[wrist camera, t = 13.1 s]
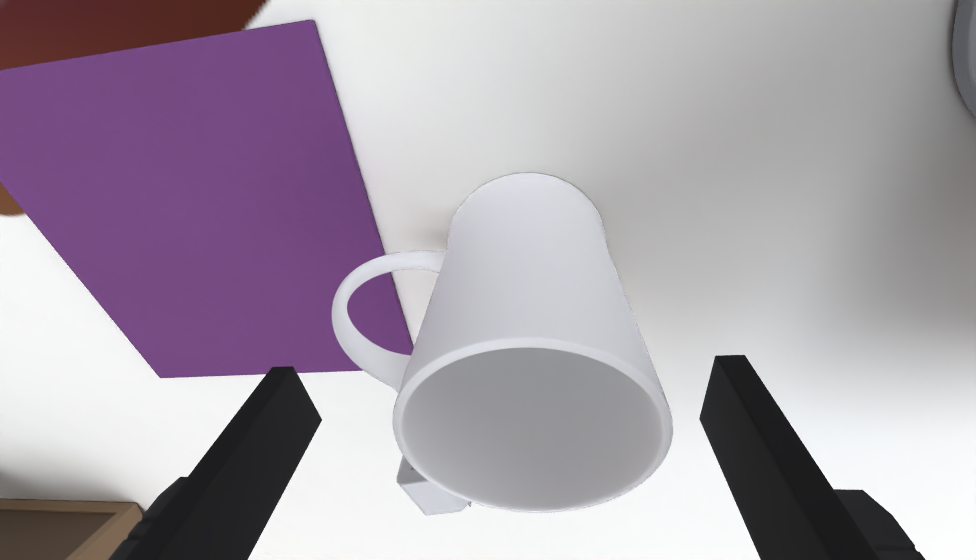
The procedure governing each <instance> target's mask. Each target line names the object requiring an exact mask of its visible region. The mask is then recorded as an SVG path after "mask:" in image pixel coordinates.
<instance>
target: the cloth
mask: <svg viewBox="0 0 976 560" xmlns="http://www.w3.org/2000/svg"><path fill="white" fill-rule="evenodd" d="M0 182H1V184H2V185H3V186H4V187H5V189H6V190H7V191H8V192H9V194H10V195H11V196H12V197H13V198H14V200H15V201H16V202H17V203H18V205H19V206H20V207H21V208H22V209H23V211H24V212H25V213H26V214H27V216H28V217H29V218H30V219H31V220H32V222H33V223H34V224H35V225H36V227H37V228H38V229H39V230H40V232H41V233H42V234H43V235H44V236H45V238H46V239H47V240H48V241H49V243H50V244H51V245H52V246H53V247H54V249H55V250H56V251H57V252H58V254H59V255H60V256H61V257H62V258H63V260H64V261H65V262H66V263H67V265H68V266H69V267H70V268H71V270H72V271H73V272H74V273H75V274H76V276H77V277H78V278H79V279H80V281H81V282H82V283H83V284H84V285H85V287H86V288H87V289H88V290H89V292H90V293H91V294H92V295H93V296H94V298H95V299H96V300H97V301H98V303H99V304H100V305H101V306H102V308H103V309H104V310H105V311H106V312H107V314H108V315H109V316H110V317H111V319H112V320H113V321H114V322H115V323H116V325H117V326H118V327H119V328H120V330H121V331H122V332H123V333H124V334H125V336H126V337H127V338H128V339H129V341H130V342H131V343H132V344H133V346H134V347H135V348H136V349H137V350H138V352H139V353H140V354H141V355H142V357H143V358H144V359H145V360H146V361H147V363H148V364H149V365H150V366H151V368H152V369H153V370H154V371H155V373H156V374H157V375H158V376H159V377H160V378H175V377H202V376H229V375H256V374H267V373H268V372H269V370H270V369H271V368H272V367H285V366H293V367H294V369H295V371H296V373H310V372H336V371H363V369H361V368H360V367H359V366H358V365H356V364H355V363H354V362H353V361H352V360H351V359H350V358H349V356H348V355H347V354H346V353H345V351H344V350H343V349H342V347H341V345H340V344H339V342H338V340H337V338H336V335H335V332H334V329H333V324H332V305H333V300H334V297H335V294H336V292H337V290H338V288H339V286H340V284H341V283H342V282H343V280H344V279H345V278H346V277H347V276H348V275H349V274H350V273H351V272H352V271H353V270H355V269H356V268H358V267H359V266H361V265H362V264H364V263H366V262H368V261H370V260H373V259H375V258H378V257H381V256H384V255H385V253H384V250H383V247H382V243H381V240H380V237H379V233H378V230H377V227H376V223H375V220H374V217H373V214H372V210H371V207H370V204H369V200H368V197H367V194H366V191H365V187H364V184H363V181H362V177H361V174H360V171H359V167H358V164H357V161H356V158H355V154H354V151H353V148H352V144H351V141H350V138H349V134H348V131H347V128H346V125H345V121H344V118H343V115H342V111H341V108H340V105H339V102H338V98H337V95H336V92H335V88H334V85H333V82H332V78H331V75H330V72H329V69H328V65H327V62H326V59H325V55H324V52H323V49H322V46H321V42H320V39H319V36H318V32H317V29H316V26H315V22H314V20H305V21H299V22H293V23H287V24H281V25H274V26H268V27H262V28H256V29H250V30H244V31H237V32H231V33H225V34H219V35H213V36H207V37H200V38H194V39H189V40H182V41H176V42H170V43H163V44H157V45H151V46H145V47H139V48H133V49H126V50H120V51H114V52H108V53H102V54H95V55H90V56H83V57H77V58H71V59H65V60H59V61H53V62H46V63H40V64H33V65H27V66H21V67H15V68H9V69H3V70H0ZM347 312H348V316H349V318H350V320H351V322H352V324H353V325H354V327H355V328H356V329H357V330H358V331H359V332H360V333H361V334H362V335H363V336H364V337H365V338H367V339H368V340H369V341H371V342H372V343H374V344H375V345H377V346H379V347H381V348H383V349H385V350H388V351H391V352H395V353H399V354H404V355H410V356H411V355H412V352H413V345H412V342H411V339H410V335H409V332H408V329H407V326H406V322H405V319H404V316H403V312H402V309H401V306H400V303H399V299H398V296H397V293H396V289H395V286H394V283H393V279H392V276H391V273H390V272H388V273H384V274H381V275H378V276H376V277H373V278H371V279H369V280H368V281H366V282H364V283H363V284H361V285H360V286H359V287H358V288H357V289H356V290H355V291H354V292H353V293H352V295H351V296H350V298H349V300H348V303H347Z"/></svg>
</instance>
